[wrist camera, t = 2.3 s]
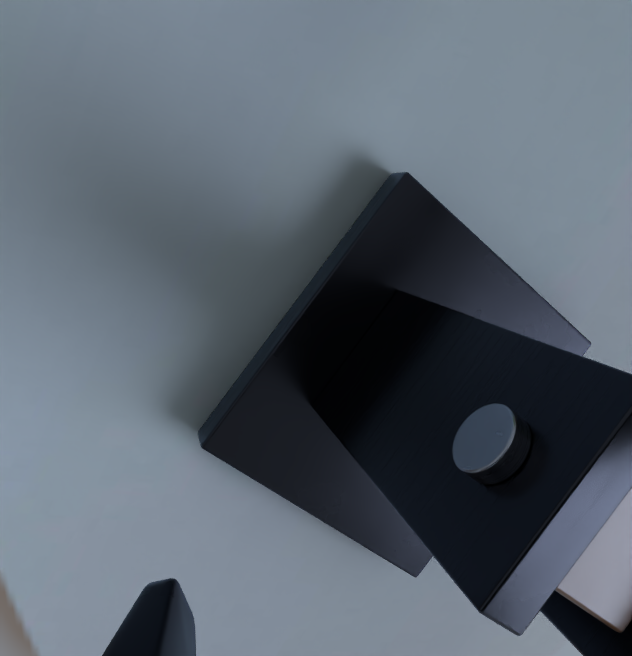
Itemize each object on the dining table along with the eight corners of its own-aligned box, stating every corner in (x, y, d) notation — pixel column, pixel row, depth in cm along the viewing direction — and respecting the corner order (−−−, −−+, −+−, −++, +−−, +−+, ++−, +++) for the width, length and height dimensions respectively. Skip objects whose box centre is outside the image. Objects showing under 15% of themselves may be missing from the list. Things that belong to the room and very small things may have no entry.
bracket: (391, 172, 19) (693, 144, 8) (569, 336, 22) (947, 459, 12) (196, 432, 19) (264, 716, 8) (402, 559, 22) (633, 878, 12)
